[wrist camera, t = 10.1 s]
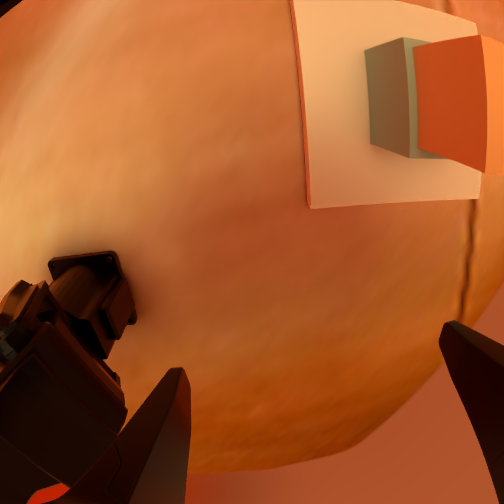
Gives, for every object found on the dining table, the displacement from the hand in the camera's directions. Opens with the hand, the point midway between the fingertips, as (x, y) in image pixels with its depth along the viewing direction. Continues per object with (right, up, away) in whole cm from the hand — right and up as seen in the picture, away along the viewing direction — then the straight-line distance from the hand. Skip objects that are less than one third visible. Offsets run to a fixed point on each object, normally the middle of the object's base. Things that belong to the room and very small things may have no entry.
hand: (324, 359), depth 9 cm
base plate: (+8, +14, +8) cm, 17 cm away
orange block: (+8, +11, +2) cm, 13 cm away
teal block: (+8, +13, +7) cm, 16 cm away
